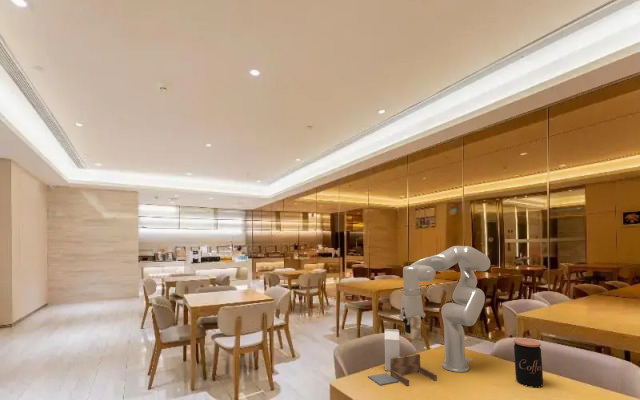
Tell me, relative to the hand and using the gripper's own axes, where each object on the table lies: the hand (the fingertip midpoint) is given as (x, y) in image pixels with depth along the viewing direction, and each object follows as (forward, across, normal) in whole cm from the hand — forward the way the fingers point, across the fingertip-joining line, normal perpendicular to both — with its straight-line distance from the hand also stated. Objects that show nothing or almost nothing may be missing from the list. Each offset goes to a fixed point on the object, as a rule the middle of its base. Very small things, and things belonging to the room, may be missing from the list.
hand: (412, 331), depth 163 cm
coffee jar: (+22, -44, +24) cm, 55 cm away
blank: (+3, 0, 0) cm, 3 cm away
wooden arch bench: (+21, 0, 0) cm, 21 cm away
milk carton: (+21, +2, -14) cm, 25 cm away
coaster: (+21, +14, -4) cm, 26 cm away
